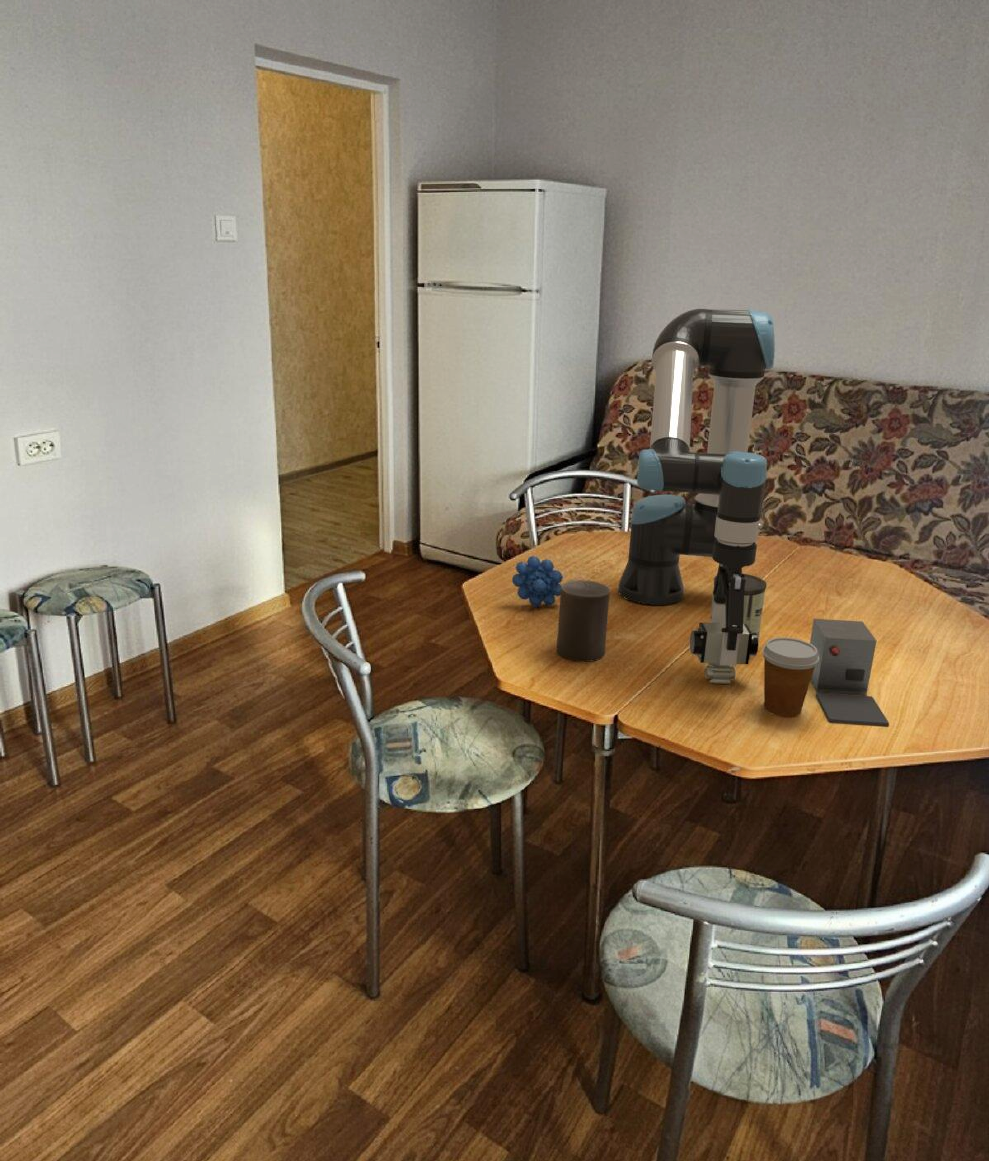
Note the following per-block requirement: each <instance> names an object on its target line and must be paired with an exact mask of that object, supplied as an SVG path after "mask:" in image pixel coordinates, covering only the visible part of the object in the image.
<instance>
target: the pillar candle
mask: <svg viewBox="0 0 989 1161" xmlns="http://www.w3.org/2000/svg"><path fill="white" fill-rule="evenodd" d="M610 591H611V589H610V587H609V586H607V585H606V584H603V583H600V582H598V581H593V580H584V579H581V580H576V579H575V580H570V581H566V582H564V583H562V584H561V595H560V596H559V611H558V625H557V626H558V627H557V635H556V636H557V638H556V651H557V654H559V656H561V657H562V658H565V659H567V660H571V661H574V662H575V661H576V662H581V661H585V662H592V661H591V660H594V661H596V659H598V660H600V659H602V658H603V657H604V656H605V652H606V641H607V630H608V617H609V607H610V606H609V603H610V593H611V592H610ZM603 655H604V656H603ZM602 656H603V657H602ZM601 657H602V658H601Z"/></svg>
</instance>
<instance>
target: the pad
mask: <svg viewBox="0 0 989 1161" xmlns="http://www.w3.org/2000/svg"><path fill="white" fill-rule="evenodd" d="M815 697H816V699H817V701H818V703H819V706H820V707H821V709H822V711H823V713H824V715H825V718H827V721H828V723H835V724H848V725H849V724H851V725H863V726H864V725H865V726H867V725H868V726H880V727H889V725H890V722H889V721H888V719H887V717H886V716H885V714H884V713H883V711H882V710H881V708H880V707H879V705H878V703H877V702H876V700H875V699H874V697H873V696H872V695H871V696H870V695H854V694H839V693H823V692H816V693H815Z"/></svg>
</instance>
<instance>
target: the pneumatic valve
mask: <svg viewBox="0 0 989 1161" xmlns="http://www.w3.org/2000/svg"><path fill="white" fill-rule="evenodd" d="M733 626H735V625H733ZM722 628H726V622H724V623H720V622H717V623H710V622H698V627H696V630H691V631H690V636H689V650H690V653H691V654H692V655H696V656H697V658H698V660H699V663H700V664H708V665H706V666H705V667H704V677H705V679H708V680H709V682H708V683H710V684H712V685H731V683H732V681H733V680H735V679H736V669H735V666H727V665H720V658H721V650H722V641H723V633H724V632H721V630H722ZM758 652H759V641H758V636H757V634H756V633H755V632H751V630H750V629H749V627H748V626H747V624H743V633H742V634H740V637H739V645H738V652H737V660H736V665H749V664H750V663H749V662H750V660H751V659H752V657H756V656H757V654H758Z"/></svg>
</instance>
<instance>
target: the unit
mask: <svg viewBox="0 0 989 1161" xmlns="http://www.w3.org/2000/svg"><path fill="white" fill-rule="evenodd" d="M809 643H810V644H812V645H813V646H815V647H816V648H817V651H818V655H819V658H820V659H819V662H818V663H817V665H816V666H815V668H814V671H813V674H812V678H811V681H810V684H812V687H813V689H814V690H815V692H816V693H829V694H844V695H859V696H868V695H867V694H868V688H869V684H870V683H869V682H870V678H871V674H872V673H871V672H872V669H873V668H872V667H873V663H874V657H875V651H876V645H877V639H876V638H875V636H874V635H873V633H871V631H870V629H869V628H868V626H866V624H865V623H864V622H863V621H862V620H861V621H857V620H843V619H826V618H813V622H812V627H811V633H810V641H809Z"/></svg>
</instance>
